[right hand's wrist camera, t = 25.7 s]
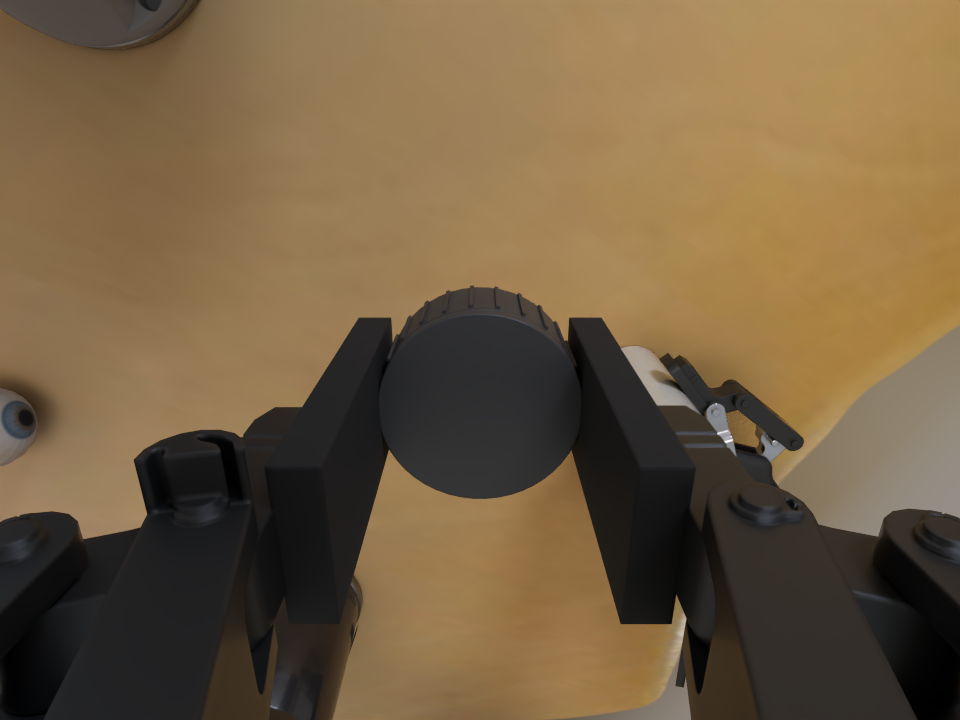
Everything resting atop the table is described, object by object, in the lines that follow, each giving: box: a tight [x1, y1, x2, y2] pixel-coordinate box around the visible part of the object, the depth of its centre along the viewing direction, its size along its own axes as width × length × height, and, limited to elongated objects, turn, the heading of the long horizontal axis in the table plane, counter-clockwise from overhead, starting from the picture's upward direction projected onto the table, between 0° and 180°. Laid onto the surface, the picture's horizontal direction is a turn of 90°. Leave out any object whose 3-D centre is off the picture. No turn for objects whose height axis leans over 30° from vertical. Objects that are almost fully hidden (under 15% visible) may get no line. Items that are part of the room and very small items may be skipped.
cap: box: [379, 286, 582, 499], centre depth 13 cm, size 4×4×2 cm
